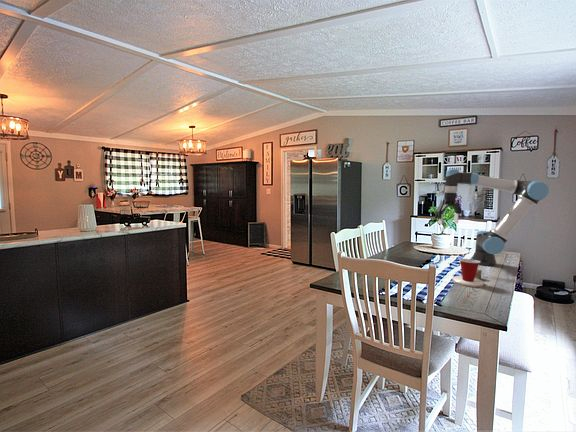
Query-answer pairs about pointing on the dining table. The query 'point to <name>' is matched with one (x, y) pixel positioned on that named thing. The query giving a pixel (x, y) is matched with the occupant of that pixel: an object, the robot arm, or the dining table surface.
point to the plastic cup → (469, 269)
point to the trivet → (469, 284)
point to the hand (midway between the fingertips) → (448, 223)
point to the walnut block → (478, 274)
